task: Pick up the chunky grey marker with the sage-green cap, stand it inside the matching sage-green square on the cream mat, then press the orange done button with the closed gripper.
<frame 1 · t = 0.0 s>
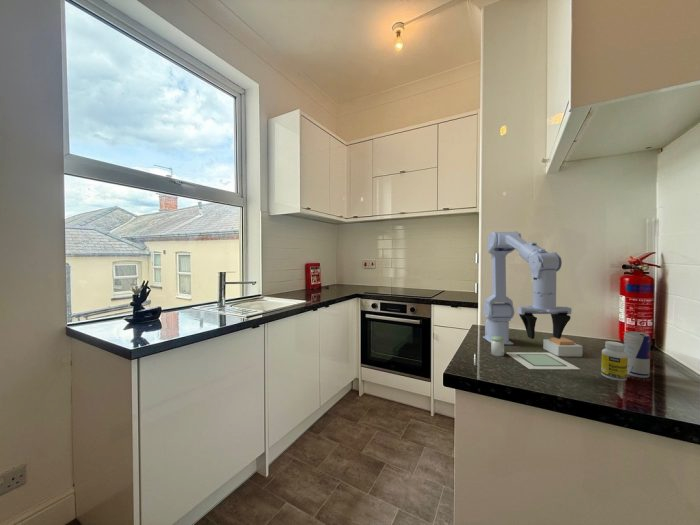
hand: (543, 337, 84), 10 cm above the counter, tool pointing down, fingers open, 7 cm apart
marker: (497, 354, 99), on the counter
picture board: (540, 360, 93), on the counter
done button: (562, 342, 100), point 3 cm above the counter, slide at 0.0 cm
button housing: (562, 352, 100), on the counter
energy drink: (636, 374, 82), on the counter
supplement bottle: (613, 377, 80), on the counter
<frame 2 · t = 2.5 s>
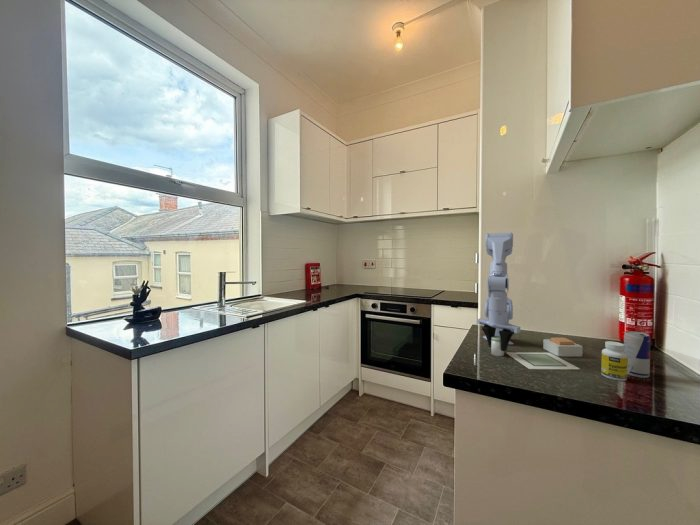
hand: (497, 348, 99), 2 cm above the counter, tool pointing down, fingers closed on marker, 4 cm apart
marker: (497, 354, 99), on the counter, touching gripper
everything else where it was.
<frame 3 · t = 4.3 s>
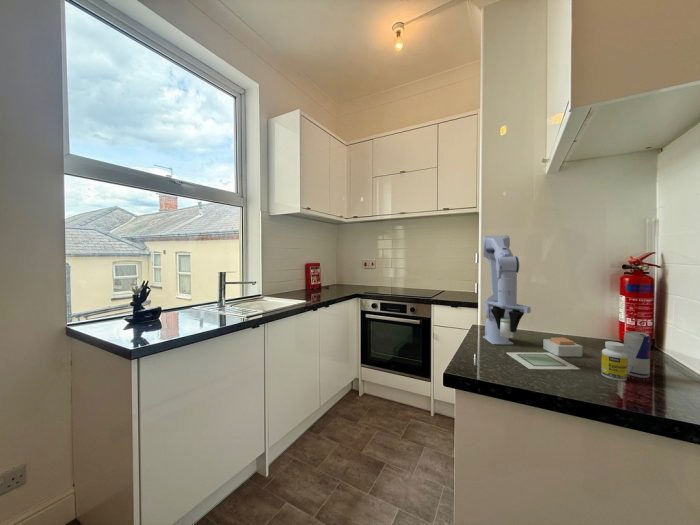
hand: (506, 330, 97), 9 cm above the counter, tool pointing down, fingers closed on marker, 4 cm apart
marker: (506, 336, 97), point 7 cm above the counter, touching gripper
everything else where it was.
when the fingers open (4 cm above the counter, at t = 6.4 s): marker drops 1 cm, resting on picture board.
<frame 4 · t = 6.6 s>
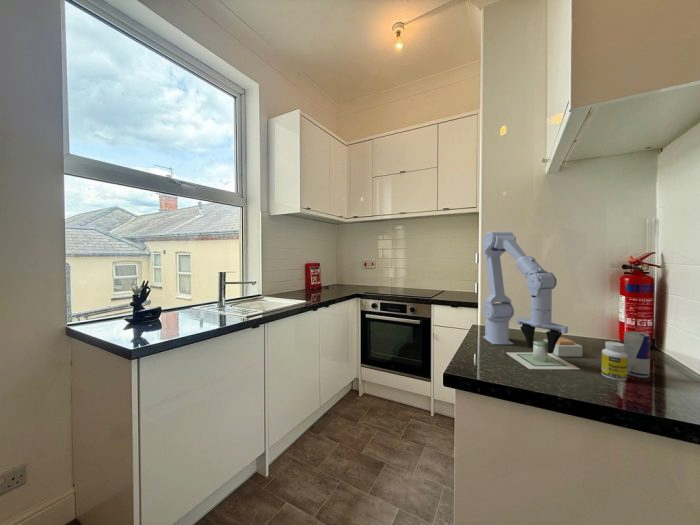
hand: (540, 350, 92), 4 cm above the counter, tool pointing down, fingers open, 5 cm apart
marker: (540, 359, 92), resting on picture board
everything else where it was.
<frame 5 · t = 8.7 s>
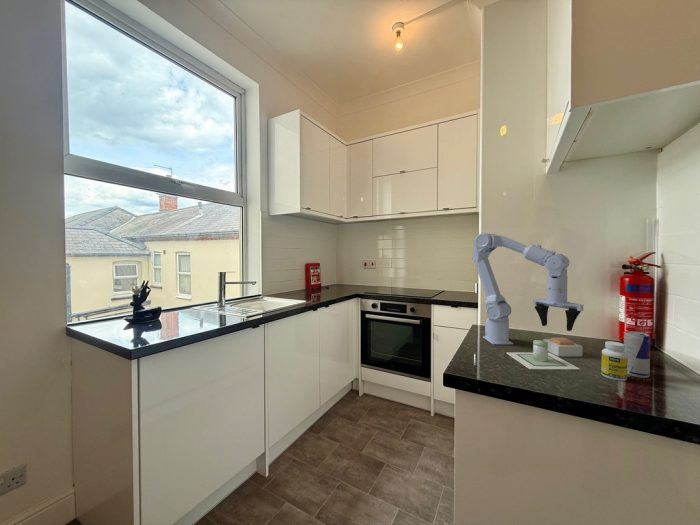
hand: (556, 327, 98), 9 cm above the counter, tool pointing down, fingers open, 7 cm apart
nothing on the counter moved.
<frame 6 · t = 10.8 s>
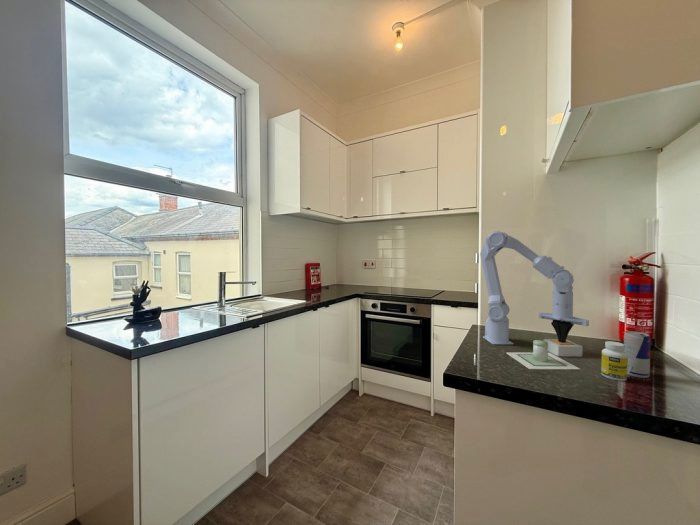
hand: (562, 342, 100), 4 cm above the counter, tool pointing down, fingers closed, pressing on done button
done button: (562, 345, 100), point 3 cm above the counter, slide at 0.8 cm, touching gripper
everything else where it was.
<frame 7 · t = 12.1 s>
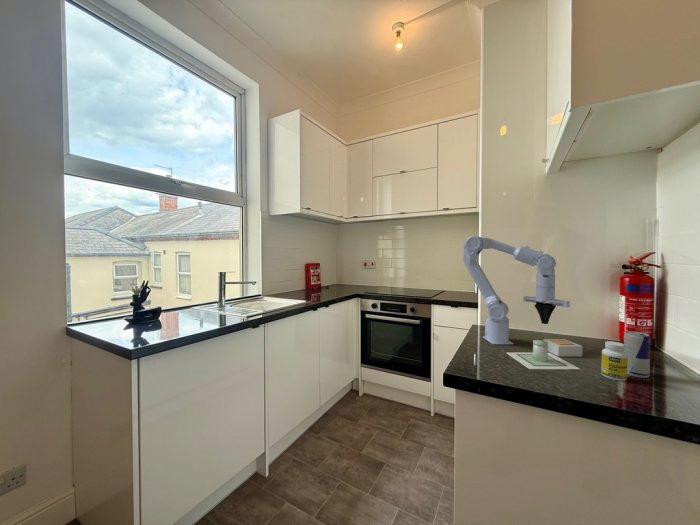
hand: (544, 323, 104), 9 cm above the counter, tool pointing down, fingers closed
done button: (562, 345, 100), point 3 cm above the counter, slide at 0.8 cm
everything else where it was.
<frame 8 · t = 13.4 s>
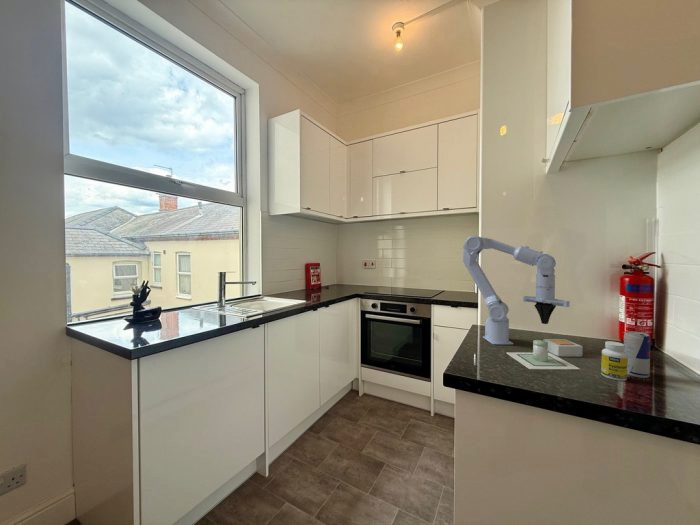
hand: (544, 323, 104), 9 cm above the counter, tool pointing down, fingers closed
nothing on the counter moved.
at the end: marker 0.1 cm off-centre on the picture board, point 0.4 cm above the picture board's base; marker tilted 0°; done button slide at 0.8 cm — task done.
